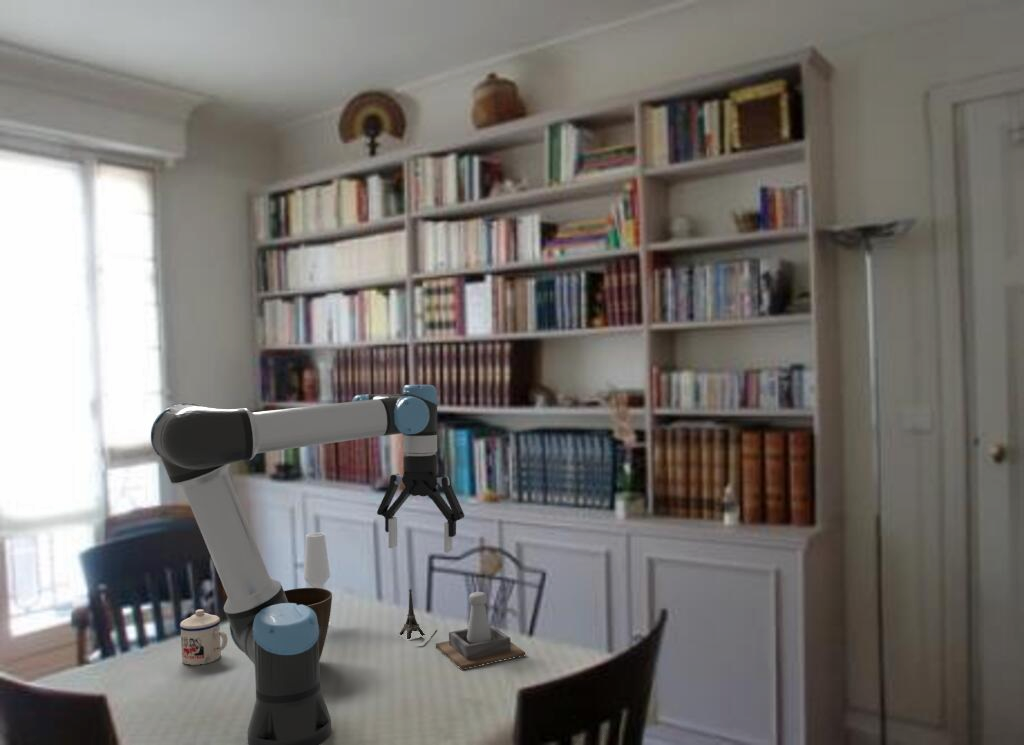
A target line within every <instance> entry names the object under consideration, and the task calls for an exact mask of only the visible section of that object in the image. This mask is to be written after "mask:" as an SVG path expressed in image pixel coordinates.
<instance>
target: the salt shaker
mask: <svg viewBox="0 0 1024 745" xmlns="http://www.w3.org/2000/svg"><path fill="white" fill-rule="evenodd" d="M468 602H469V604H470V605H471V606H470V614H469V621H468V628H467V629H468V633H467V640H468V643H469V644H474V643H479V642H484V641H489V640H491V638H492V637H491V632H490V628H489V625H490V623H489V618H488V616H487V608H486V605H485V604H487V602H488V596H487V593H486V592H484V591H483V592H482V591H474V592H471V593H470V594H469V596H468Z"/></svg>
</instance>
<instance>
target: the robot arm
mask: <svg viewBox="0 0 1024 745" xmlns="http://www.w3.org/2000/svg"><path fill="white" fill-rule="evenodd" d="M402 390H403V391H402V393H397V394H389V393H388V394H381V393H379V394H372V393H371V394H370V393H367V394H357V395H355V396H354V397H353V398H352V399H351V401H348V402H338V403H329V404H319V405H312V406H302V407H301V406H300V407H290V408H284V409H275V410H274V409H273V410H266V411H265V410H263V411H256V412H253V411H252V412H251V411H250V410H249V409H248V408H245V407H242V408H232V409H231V408H230V409H225V408H213V407H207V406H201V405H198V404H195V403H191V402H185V403H183V402H182V403H180V404H176V405H175V404H174V405H172V406H170V407H168V408H166V409H164V410H163V411H162V412H161V413H159V415H158V416H157V417H156V418H155V420H154V422H153V424H152V426H151V430H150V443H151V446H152V449H153V450H154V452H155V453H156V455H158V456H159V457H160V459H161V461H162V464H163V467H164V469H165V470H166V473H167V476H168V478H169V480H170V483H171V484H172V485H173V486H176V487H179V488H182V490H183V492H184V494H185V497H186V499H187V502H188V503H189V506H190V509H191V512H192V514H193V516H194V518H195V521H196V524H197V525H198V528H199V531H200V534H201V535H202V538H203V540H204V543H205V545H206V548H207V550H208V553H209V555H210V558H211V560H212V562H213V565H214V567H215V569H216V572H217V574H218V578H220V581H221V582H220V583H221V584H222V587H223V589H224V591H225V594H226V597H227V598H226V601H225V603H224V606H223V610H224V614H225V616H226V618H227V620H228V624H229V630H230V636H231V640H232V641H233V643H234V644H235V646H236V647H237V648H238V649H239V650H240V651H241V652H243V654H245V655H246V657H247V658H248V659H249V660H250V662H252V663H253V665H254V676H255V702H254V706H253V710H252V713H251V716H250V720H249V723H248V727H247V733H246V734H247V745H320V744H322V743H323V742H325V741H326V740H327V739H328V738H329V737H330V736H331V733H332V717H331V714H330V712H329V709H328V707H327V704H326V702H325V698H324V696H323V693H322V690H321V672H320V671H321V670H320V668H321V667H320V665H321V664H320V661H319V626H318V622H317V616H316V614H315V612H314V611H313V610H312V609H311V608H309V607H307V606H305V605H302V604H301V605H297V604H296V603H288V600H287V598H286V595H285V593H284V591H285V590H284V588H283V586H282V583H281V582H280V581H279V580H276V579H273V578H271V577H270V574H269V572H268V570H267V568H266V564H265V561H264V559H263V557H262V555H261V551H260V550H259V547H258V545H257V541H256V539H255V537H254V534H253V532H252V530H251V526H250V525H249V522H248V519H247V517H246V515H245V511H244V508H243V507H242V504H241V501H240V499H239V497H238V494H237V492H236V490H235V487H234V484H233V482H232V479H231V476H230V474H229V467H230V465H231V464H235V463H242V462H245V461H251V460H253V459H254V458H255V457H256V455H258V454H263V453H269V452H277V451H284V450H291V449H296V448H297V449H299V448H306V447H311V446H318V445H326V444H327V445H328V444H333V443H340V442H348V441H354V440H362V439H368V438H376V437H383V436H385V437H386V436H392V435H394V436H395V435H400V434H402V435H403V445H402V446H403V447H402V448H403V450H402V451H403V453H404V456H403V467H402V468H403V470H402V471H403V475H401V474H399V473H395V474H391V475H390V477H389V485H388V486H387V489H386V491H385V493H384V496H383V498H382V500H381V502H380V505H379V506H378V508H377V511H376V514H377V515H378V516H382V517H383V518H384V527H385V528H384V530H385V533H388V548H389V549H392V548H393V549H394V548H395V547H397V546H398V517H397V516H395V514H396V513H397V512H398V510H400V508H401V507H402V506H403V504H404V503H405V502H406V501H407V500H408V498H409V497H410V496H412V497H416V496H419V497H427V496H428V498H429V499H431V500H432V501H433V503H434V505H435V506H436V507H437V508H438V511H440V513H441V514H442V515H443V516H444V518H445V520H446V521H445V522H444V525H443V526H444V528H443V529H444V530H443V531H444V533H443V536H444V538H443V540H444V545H443V546H444V551H443V552H444V553H450V552H451V551H453V537H455V536H456V535H457V521H459V520H462V519H464V517H465V513H464V511H463V508H462V506H461V504H460V502H459V500H458V497H457V495H456V492H455V491H454V489H453V486H452V480H451V476H449V475H446V476H443V477H439V476H438V456H437V454H436V453H437V452H438V407H439V402H438V393H437V387H435V385H433V384H432V385H431V384H405V385H404V386H403V389H402ZM402 483H403V485H404V488H403V490H402V491H401V492H400V494H399V495H398V497H397V498H396V499H395V501H393V499H394V496H395V494H396V492H397V490H398V488H399V486H400V484H402ZM437 485H439V486H440V487H441V488H442V490H443V491H442V492H443V494H444V496H445V498H446V501H447V502H446V501H445V499H444V498H443V496H442V495H441V493H440V491H439V489H438V488H437ZM392 501H393V503H392ZM391 504H392V505H391Z"/></svg>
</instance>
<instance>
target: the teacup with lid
mask: <svg viewBox="0 0 1024 745" xmlns="http://www.w3.org/2000/svg"><path fill="white" fill-rule="evenodd" d="M220 624H221V618H220V617H219V616H218V615H215V614H210V613H207V612H205V610H204V609H196V610H195V613H194V614H192V615H190V617H188V618H185V619H184V620H181V621H180V624H179V629H180V641H181V646H180V647H181V661H182V663H183V664H185V665H187V664H190V665H189V666H201V665H200V664H202V665H206V663H207V664H210V663H213V662H215V661H217V660H218V659H219V658H220V657H221V655H222V651H224V649H225V648H226V647H227V644H228V636H227V633H226V632H225V631H223V630H222V629H221V627H220V626H221V625H220ZM221 638H222V644H221Z"/></svg>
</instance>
